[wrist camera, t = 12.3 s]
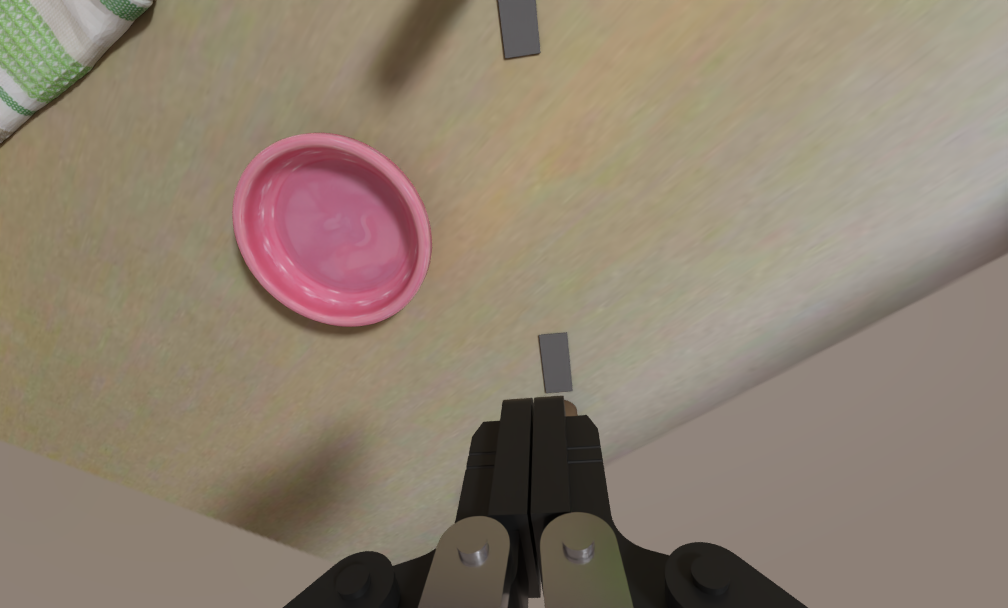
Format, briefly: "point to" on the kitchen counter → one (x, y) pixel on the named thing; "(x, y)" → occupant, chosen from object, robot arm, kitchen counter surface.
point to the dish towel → (53, 49)
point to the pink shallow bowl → (332, 229)
